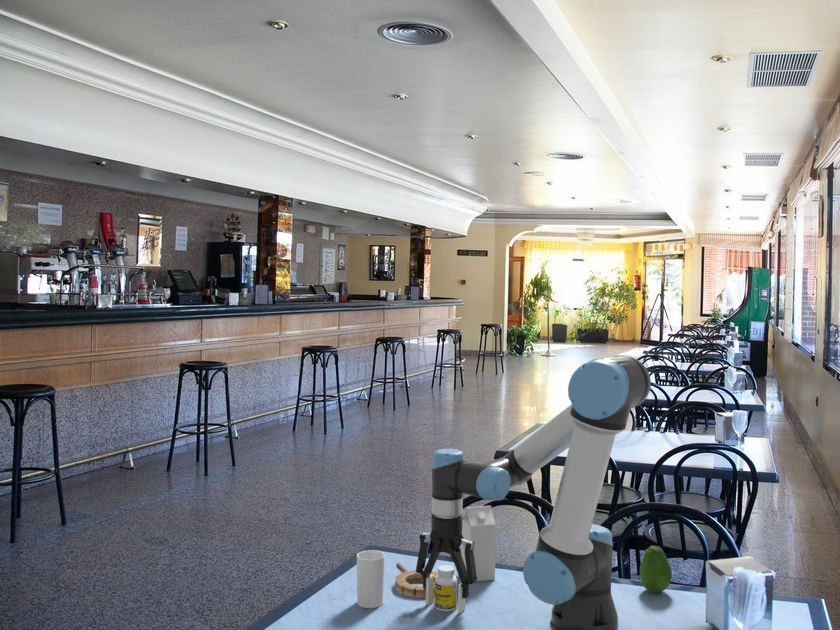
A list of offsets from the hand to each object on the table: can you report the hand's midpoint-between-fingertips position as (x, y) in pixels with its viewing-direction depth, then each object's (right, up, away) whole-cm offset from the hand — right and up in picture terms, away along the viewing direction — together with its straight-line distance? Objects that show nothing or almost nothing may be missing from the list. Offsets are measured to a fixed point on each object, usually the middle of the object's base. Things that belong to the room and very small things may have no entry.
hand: (445, 606), depth 186 cm
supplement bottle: (0, 0, 0) cm, 1 cm away
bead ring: (-6, 0, +12) cm, 14 cm away
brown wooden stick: (-10, +1, +23) cm, 25 cm away
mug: (-18, 0, +3) cm, 18 cm away
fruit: (+54, -1, +11) cm, 55 cm away
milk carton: (+9, 0, +20) cm, 22 cm away
